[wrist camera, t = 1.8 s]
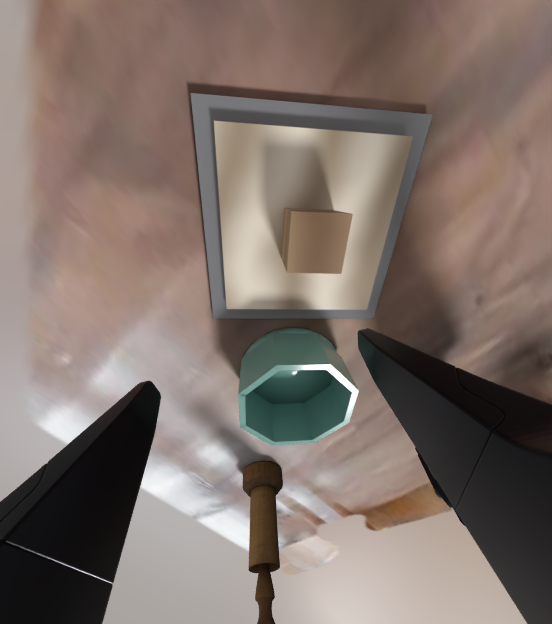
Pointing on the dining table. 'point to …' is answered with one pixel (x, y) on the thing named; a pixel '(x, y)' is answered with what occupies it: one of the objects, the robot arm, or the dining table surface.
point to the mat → (302, 117)
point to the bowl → (294, 388)
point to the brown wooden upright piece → (263, 530)
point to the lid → (304, 213)
